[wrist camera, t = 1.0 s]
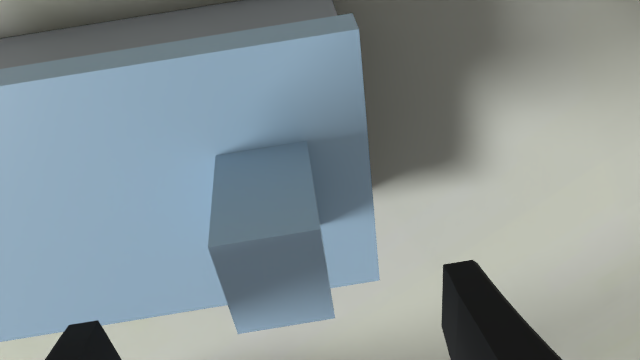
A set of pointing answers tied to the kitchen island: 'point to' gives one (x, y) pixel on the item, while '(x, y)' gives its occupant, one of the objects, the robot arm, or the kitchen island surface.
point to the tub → (158, 29)
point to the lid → (187, 181)
